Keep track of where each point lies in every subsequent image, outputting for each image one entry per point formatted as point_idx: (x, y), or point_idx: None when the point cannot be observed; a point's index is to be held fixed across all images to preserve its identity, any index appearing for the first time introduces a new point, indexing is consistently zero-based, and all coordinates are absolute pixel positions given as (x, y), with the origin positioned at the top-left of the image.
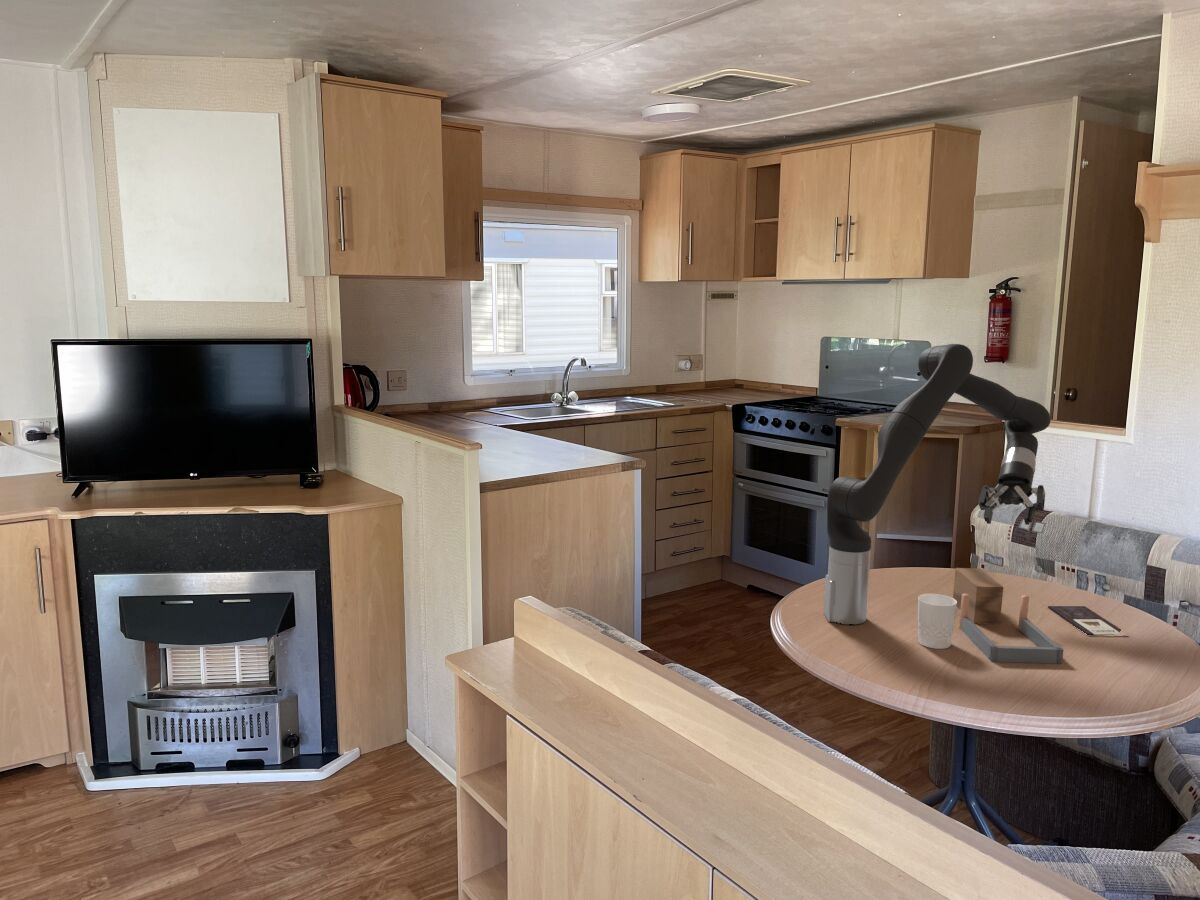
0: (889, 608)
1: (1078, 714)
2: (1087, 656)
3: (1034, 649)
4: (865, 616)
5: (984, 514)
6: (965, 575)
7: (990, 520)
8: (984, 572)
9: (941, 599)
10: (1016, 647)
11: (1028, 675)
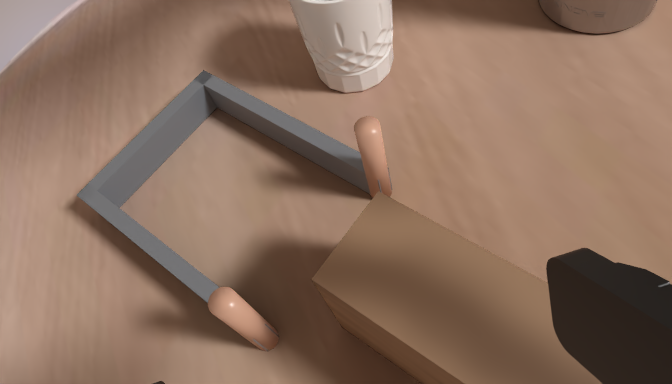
0: (624, 132)
1: (25, 57)
2: (60, 312)
3: (132, 141)
4: (550, 4)
5: (665, 287)
6: (515, 272)
7: (575, 336)
8: None
9: (354, 6)
10: (165, 114)
11: (134, 104)
